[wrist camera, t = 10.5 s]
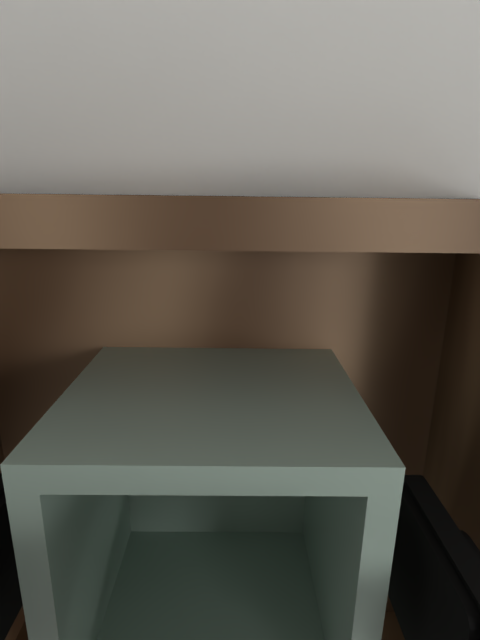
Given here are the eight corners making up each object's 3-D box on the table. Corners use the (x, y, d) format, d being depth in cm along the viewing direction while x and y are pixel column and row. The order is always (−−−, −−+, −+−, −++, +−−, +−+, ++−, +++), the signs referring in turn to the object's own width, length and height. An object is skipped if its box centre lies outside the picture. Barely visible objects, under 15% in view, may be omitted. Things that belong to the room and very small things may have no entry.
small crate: (331, 349, 13) (405, 467, 7) (316, 535, 15) (366, 743, 9) (103, 346, 13) (0, 464, 7) (118, 534, 15) (45, 744, 9)
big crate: (484, 199, 13) (633, 200, 8) (416, 612, 17) (487, 773, 12) (-57, 193, 13) (-237, 190, 8) (16, 613, 17) (-70, 776, 12)
